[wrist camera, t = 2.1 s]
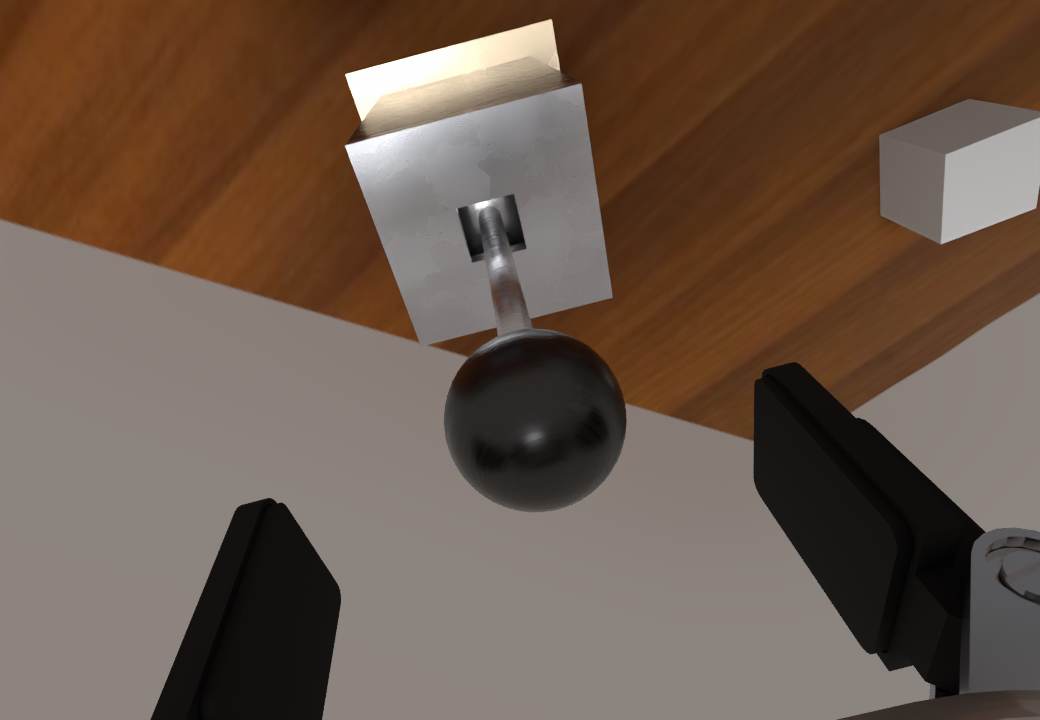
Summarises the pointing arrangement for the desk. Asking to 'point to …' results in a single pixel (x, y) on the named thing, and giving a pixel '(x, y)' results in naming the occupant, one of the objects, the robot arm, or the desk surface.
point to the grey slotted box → (480, 176)
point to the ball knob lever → (529, 392)
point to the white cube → (960, 169)
